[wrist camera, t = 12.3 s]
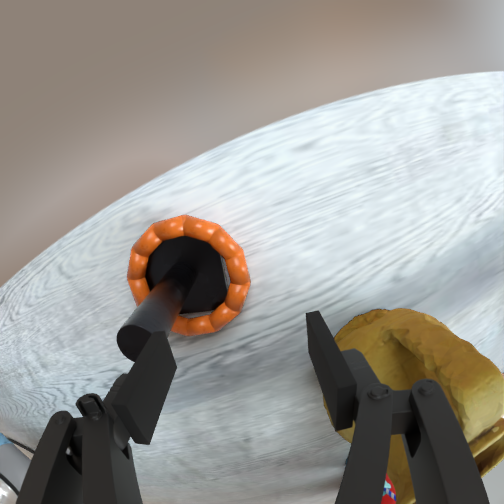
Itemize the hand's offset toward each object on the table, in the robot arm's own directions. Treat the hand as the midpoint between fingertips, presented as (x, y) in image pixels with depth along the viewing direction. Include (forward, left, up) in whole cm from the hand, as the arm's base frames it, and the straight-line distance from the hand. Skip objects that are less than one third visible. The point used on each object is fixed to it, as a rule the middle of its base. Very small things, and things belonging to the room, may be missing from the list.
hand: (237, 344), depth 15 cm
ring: (-6, 0, -13) cm, 14 cm away
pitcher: (+16, -14, -16) cm, 26 cm away
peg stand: (-6, 0, -15) cm, 17 cm away
